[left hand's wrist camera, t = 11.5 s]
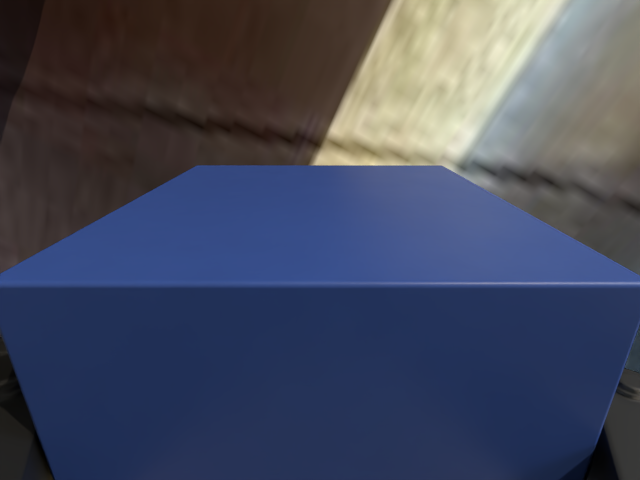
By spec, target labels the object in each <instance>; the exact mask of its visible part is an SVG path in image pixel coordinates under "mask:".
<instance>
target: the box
mask: <svg viewBox="0 0 640 480" xmlns="http://www.w3.org/2000/svg"><path fill="white" fill-rule="evenodd" d="M639 325H640V276H639V275H638V274H636V273H634V272H632V271H630V270H629V269H627V268H625V267H623V266H621V265H620V264H618V263H616V262H614V261H612V260H611V259H609V258H607V257H605V256H603V255H602V254H600V253H598V252H596V251H594V250H593V249H591V248H589V247H587V246H585V245H584V244H582V243H580V242H578V241H576V240H575V239H573V238H571V237H569V236H568V235H566V234H564V233H562V232H560V231H559V230H557V229H555V228H553V227H551V226H550V225H548V224H546V223H544V222H542V221H541V220H539V219H537V218H535V217H533V216H532V215H530V214H528V213H526V212H524V211H523V210H521V209H519V208H517V207H515V206H514V205H512V204H510V203H508V202H506V201H505V200H503V199H501V198H499V197H497V196H496V195H494V194H492V193H490V192H488V191H487V190H485V189H483V188H481V187H479V186H478V185H476V184H474V183H472V182H470V181H469V180H467V179H465V178H463V177H461V176H460V175H458V174H456V173H454V172H452V171H451V170H449V169H447V168H445V167H443V166H195V167H194V168H192V169H190V170H188V171H186V172H184V173H183V174H181V175H179V176H177V177H175V178H173V179H172V180H170V181H168V182H166V183H164V184H163V185H161V186H159V187H157V188H155V189H153V190H152V191H150V192H148V193H146V194H144V195H143V196H141V197H139V198H137V199H135V200H133V201H132V202H130V203H128V204H126V205H124V206H122V207H121V208H119V209H117V210H115V211H113V212H112V213H110V214H108V215H106V216H104V217H102V218H101V219H99V220H97V221H95V222H93V223H92V224H90V225H88V226H86V227H84V228H82V229H81V230H79V231H77V232H75V233H73V234H71V235H70V236H68V237H66V238H64V239H62V240H61V241H59V242H57V243H55V244H53V245H51V246H50V247H48V248H46V249H44V250H42V251H41V252H39V253H37V254H35V255H33V256H31V257H30V258H28V259H26V260H24V261H22V262H20V263H19V264H17V265H15V266H13V267H11V268H10V269H8V270H6V271H4V272H2V273H0V333H1V336H2V339H3V342H4V344H5V347H6V350H7V353H8V355H9V358H10V361H11V364H12V366H13V369H14V372H15V375H16V377H17V380H18V383H19V386H20V388H21V391H22V394H23V397H24V399H25V402H26V405H27V408H28V410H29V413H30V416H31V419H32V421H33V424H34V427H35V430H36V432H37V435H38V438H39V441H40V443H41V446H42V449H43V452H44V454H45V457H46V460H47V462H48V465H49V468H50V471H51V473H52V476H53V479H54V480H584V477H585V474H586V472H587V469H588V466H589V463H590V461H591V458H592V455H593V452H594V450H595V447H596V444H597V441H598V439H599V436H600V433H601V430H602V427H603V425H604V422H605V419H606V416H607V414H608V411H609V408H610V405H611V403H612V400H613V397H614V394H615V392H616V389H617V386H618V383H619V380H620V378H621V375H622V372H623V369H624V367H625V364H626V361H627V358H628V356H629V353H630V350H631V347H632V345H633V342H634V339H635V336H636V333H637V331H638V328H639Z"/></svg>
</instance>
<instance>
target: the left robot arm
mask: <svg viewBox="0 0 640 480" xmlns="http://www.w3.org/2000/svg"><path fill="white" fill-rule="evenodd" d="M0 480H54V479H53V476H52V473H51V471H50V468H49V465H48V462H47V460H46V457H45V454H44V452H43V449H42V446H41V443H40V441H39V438H38V435H37V432H36V430H35V427H34V424H33V421H32V419H31V416H30V413H29V410H28V408H27V405H26V402H25V399H24V397H23V394H22V391H21V388H20V386H19V383H18V380H17V377H16V375H15V372H14V369H13V366H12V364H11V361H10V358H9V355H8V353H7V350H6V347H5V344H4V342H3V339H2V337H0ZM584 480H640V374H639V373H637V372H634V371H631V370H628V369H625V368H624V369H623V372H622V375H621V378H620V380H619V383H618V386H617V389H616V392H615V394H614V397H613V400H612V403H611V405H610V408H609V411H608V414H607V416H606V419H605V422H604V425H603V427H602V430H601V433H600V436H599V439H598V441H597V444H596V447H595V450H594V452H593V455H592V458H591V461H590V463H589V466H588V469H587V472H586V474H585V477H584Z"/></svg>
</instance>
